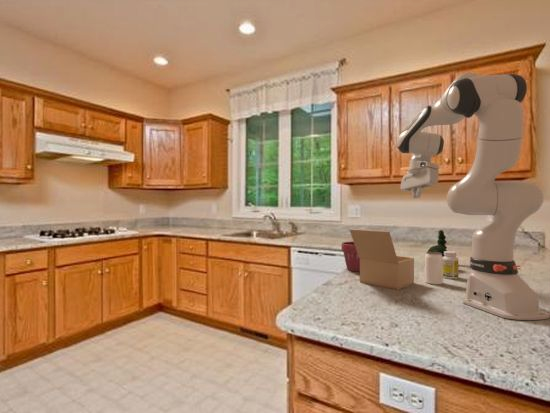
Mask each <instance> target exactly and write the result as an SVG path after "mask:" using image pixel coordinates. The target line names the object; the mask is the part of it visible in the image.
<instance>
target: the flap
mask: <svg viewBox="0 0 550 413" xmlns="http://www.w3.org/2000/svg"><path fill="white" fill-rule="evenodd" d="M349 232H350V233H349V234H350V236H351V239H352V242H354V244H355V247H356V250H357V253H358V256H359V258H361V259H369V260H376V261H383V262H390V263H397V264H398V260H397V256H398V255H397V253H396V250H395V246H394V242H393V238H392V235H391V233H390V230H380V229H379V230H378V229H377V230H376V229H362V228H349Z"/></svg>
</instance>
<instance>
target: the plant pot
mask: <svg viewBox="0 0 550 413" xmlns="http://www.w3.org/2000/svg"><path fill="white" fill-rule="evenodd" d="M341 252H343V256H344V262H345V264H346V266H345V267H346V270H347V269H348V271H350V272H360V258H359V256H358V253H357V250H356V247H355V244H354V241H345V242H342V243H341Z"/></svg>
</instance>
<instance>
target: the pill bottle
mask: <svg viewBox="0 0 550 413" xmlns="http://www.w3.org/2000/svg"><path fill="white" fill-rule="evenodd" d="M444 255H445V256H444V257H443V279H449V280H457V279H459V258H458V257H457V251H453V250H452V251H451V250H447V251H444Z"/></svg>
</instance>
